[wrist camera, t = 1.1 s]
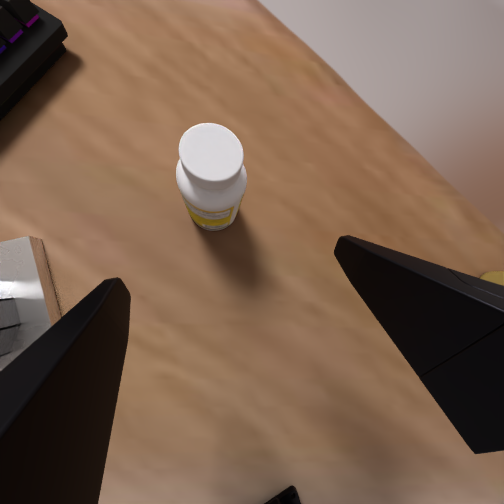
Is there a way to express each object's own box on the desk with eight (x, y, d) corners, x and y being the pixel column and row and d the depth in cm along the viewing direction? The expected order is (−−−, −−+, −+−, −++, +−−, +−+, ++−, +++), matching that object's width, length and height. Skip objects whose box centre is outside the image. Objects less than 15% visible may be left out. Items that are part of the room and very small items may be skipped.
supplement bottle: (212, 176, 21) (212, 96, 12) (246, 209, 22) (272, 157, 12) (176, 207, 20) (145, 144, 11) (213, 241, 20) (214, 211, 11)
